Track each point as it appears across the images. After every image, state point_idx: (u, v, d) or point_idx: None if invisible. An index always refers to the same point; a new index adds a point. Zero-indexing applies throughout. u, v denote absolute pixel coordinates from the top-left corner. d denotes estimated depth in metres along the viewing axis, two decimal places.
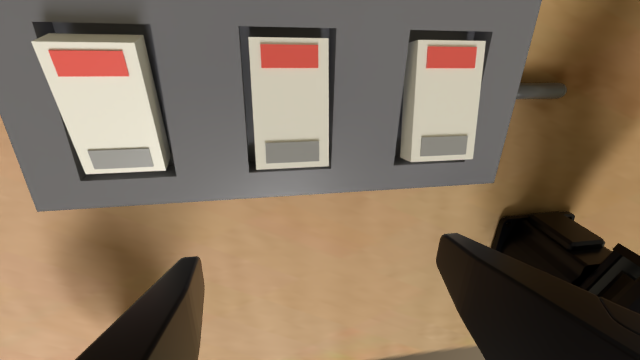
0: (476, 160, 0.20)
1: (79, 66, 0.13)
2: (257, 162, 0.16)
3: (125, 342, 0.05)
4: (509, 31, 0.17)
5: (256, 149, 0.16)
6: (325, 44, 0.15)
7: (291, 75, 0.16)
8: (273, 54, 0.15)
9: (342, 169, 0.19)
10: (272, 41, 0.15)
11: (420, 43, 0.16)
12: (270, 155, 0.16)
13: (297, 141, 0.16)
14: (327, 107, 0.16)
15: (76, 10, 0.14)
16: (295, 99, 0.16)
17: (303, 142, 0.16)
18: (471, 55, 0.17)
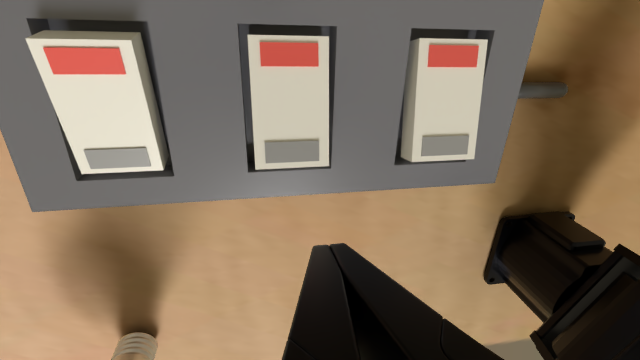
0: (477, 160, 0.20)
1: (75, 64, 0.13)
2: (256, 162, 0.16)
3: (324, 317, 0.06)
4: (511, 30, 0.17)
5: (255, 149, 0.16)
6: (325, 42, 0.15)
7: (290, 74, 0.15)
8: (273, 53, 0.15)
9: (342, 169, 0.18)
10: (272, 39, 0.15)
11: (421, 41, 0.16)
12: (270, 154, 0.16)
13: (296, 141, 0.16)
14: (327, 106, 0.16)
15: (71, 7, 0.13)
16: (295, 97, 0.16)
17: (303, 142, 0.16)
18: (473, 54, 0.17)
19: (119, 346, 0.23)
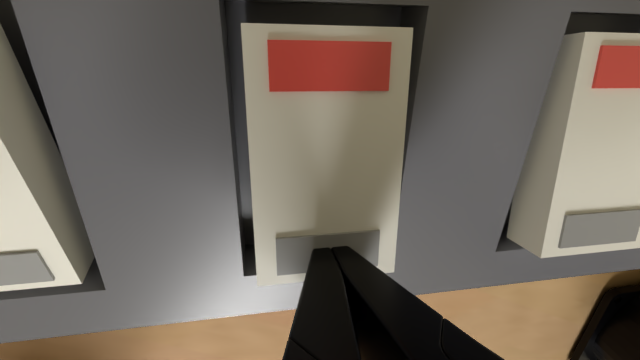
0: None
1: None
2: (259, 274, 0.08)
3: (324, 316, 0.06)
4: None
5: (257, 250, 0.08)
6: (406, 40, 0.07)
7: (331, 106, 0.07)
8: (296, 63, 0.07)
9: (409, 262, 0.10)
10: (294, 33, 0.07)
11: (588, 39, 0.08)
12: (286, 258, 0.08)
13: (337, 233, 0.08)
14: (400, 167, 0.08)
15: None
16: (338, 152, 0.08)
17: (350, 234, 0.08)
18: None
19: None
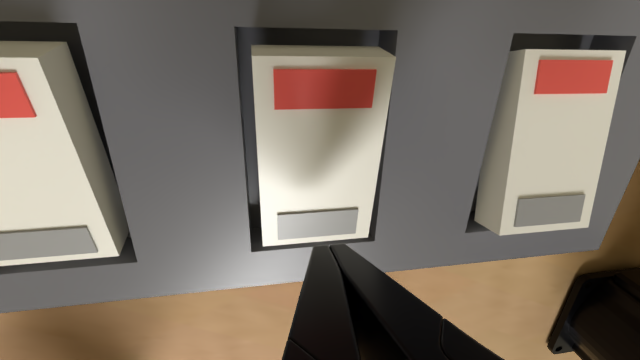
0: None
1: None
2: (264, 238, 0.11)
3: (324, 316, 0.06)
4: None
5: (263, 222, 0.11)
6: (389, 67, 0.09)
7: (324, 119, 0.09)
8: (296, 85, 0.09)
9: (391, 241, 0.12)
10: (296, 64, 0.08)
11: (528, 55, 0.10)
12: (285, 227, 0.11)
13: (325, 211, 0.11)
14: (377, 164, 0.10)
15: None
16: (328, 153, 0.10)
17: (335, 211, 0.11)
18: (603, 73, 0.11)
19: None
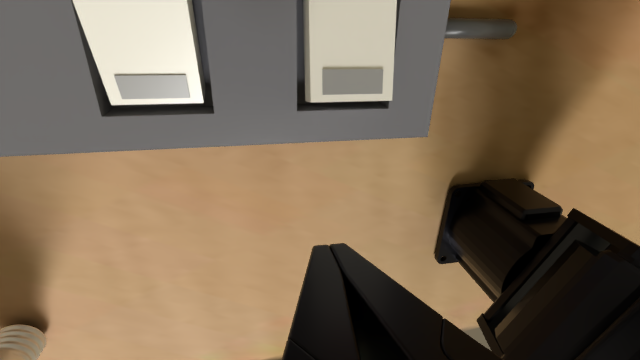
0: (403, 107, 0.16)
1: None
2: (110, 97, 0.14)
3: (324, 317, 0.06)
4: None
5: (104, 82, 0.13)
6: None
7: None
8: None
9: (229, 115, 0.15)
10: None
11: None
12: (126, 89, 0.13)
13: (156, 75, 0.13)
14: (190, 33, 0.13)
15: None
16: (143, 20, 0.12)
17: (165, 76, 0.13)
18: None
19: None
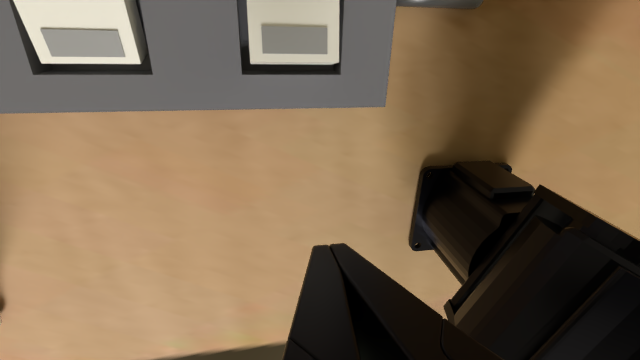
0: (356, 73, 0.15)
1: None
2: (39, 54, 0.13)
3: (324, 317, 0.06)
4: None
5: (31, 36, 0.13)
6: None
7: None
8: None
9: (169, 76, 0.14)
10: None
11: None
12: (56, 45, 0.13)
13: (86, 29, 0.13)
14: None
15: None
16: None
17: (95, 31, 0.13)
18: None
19: None
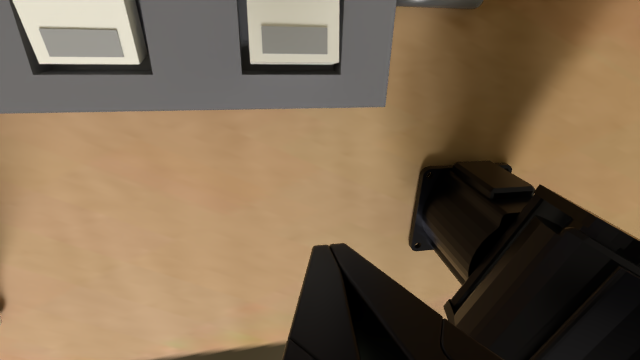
0: (356, 73, 0.15)
1: None
2: (37, 54, 0.13)
3: (324, 317, 0.06)
4: None
5: (30, 36, 0.12)
6: None
7: None
8: None
9: (169, 76, 0.14)
10: None
11: None
12: (54, 45, 0.13)
13: (84, 29, 0.13)
14: None
15: None
16: None
17: (94, 30, 0.13)
18: None
19: None
